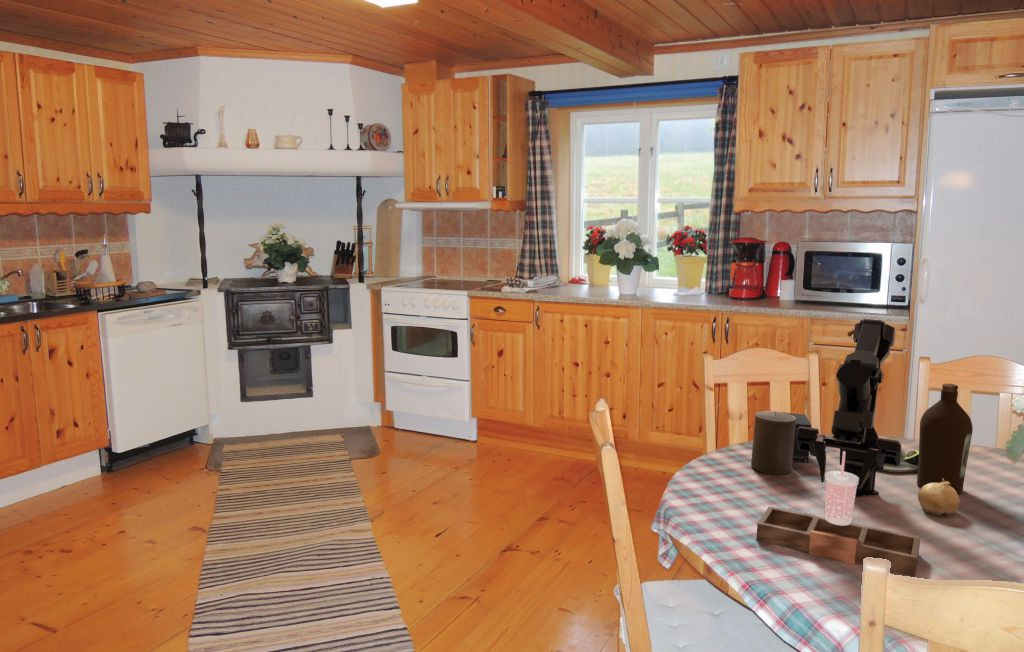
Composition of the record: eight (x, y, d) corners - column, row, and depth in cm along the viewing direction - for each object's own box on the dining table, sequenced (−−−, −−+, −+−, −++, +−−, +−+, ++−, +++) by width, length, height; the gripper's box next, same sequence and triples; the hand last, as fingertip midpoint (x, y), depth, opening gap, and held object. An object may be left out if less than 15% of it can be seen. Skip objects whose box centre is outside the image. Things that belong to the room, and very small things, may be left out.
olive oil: (913, 491, 177) (924, 387, 173) (914, 477, 186) (924, 377, 182) (966, 500, 172) (978, 392, 168) (964, 485, 181) (976, 383, 177)
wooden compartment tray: (755, 541, 151) (756, 520, 150) (767, 522, 160) (769, 501, 159) (915, 578, 136) (917, 554, 136) (918, 554, 146) (920, 532, 145)
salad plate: (872, 478, 186) (874, 460, 185) (831, 454, 204) (832, 438, 203) (943, 475, 189) (945, 457, 188) (896, 451, 207) (898, 435, 206)
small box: (810, 464, 195) (813, 424, 194) (783, 462, 197) (786, 422, 195) (803, 450, 206) (805, 413, 204) (777, 449, 207) (780, 411, 205)
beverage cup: (849, 514, 150) (855, 446, 148) (859, 528, 144) (866, 457, 142) (817, 513, 151) (822, 445, 149) (826, 526, 145) (832, 456, 143)
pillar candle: (764, 476, 186) (769, 417, 183) (743, 463, 195) (748, 406, 193) (799, 474, 188) (805, 415, 186) (777, 460, 198) (782, 404, 195)
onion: (957, 522, 161) (960, 490, 159) (914, 514, 165) (917, 482, 164) (959, 509, 167) (962, 479, 166) (918, 501, 171) (921, 471, 170)
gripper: (800, 386, 151) (785, 456, 144) (905, 400, 142) (895, 475, 135) (804, 415, 160) (790, 482, 152) (904, 429, 150) (894, 501, 143)
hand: (840, 484), depth 145 cm, fingers closed on beverage cup, 6 cm apart
